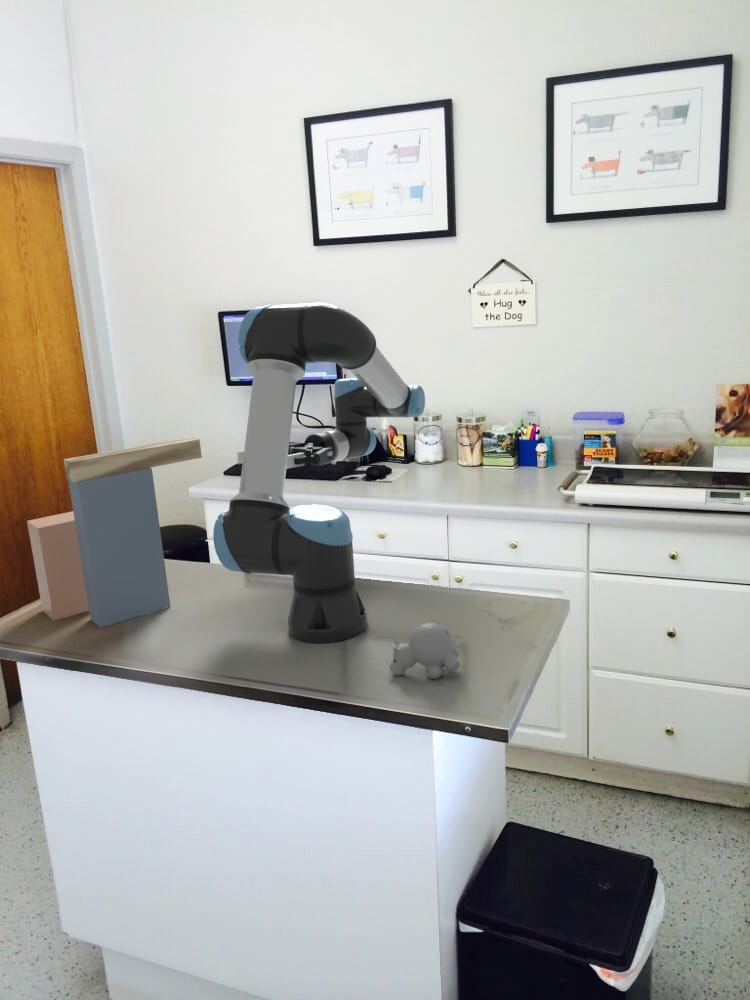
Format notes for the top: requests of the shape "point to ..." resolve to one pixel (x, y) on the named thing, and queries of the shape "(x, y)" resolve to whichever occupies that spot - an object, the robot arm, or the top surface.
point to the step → (58, 565)
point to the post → (120, 545)
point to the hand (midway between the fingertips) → (259, 460)
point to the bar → (132, 459)
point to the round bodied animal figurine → (426, 651)
